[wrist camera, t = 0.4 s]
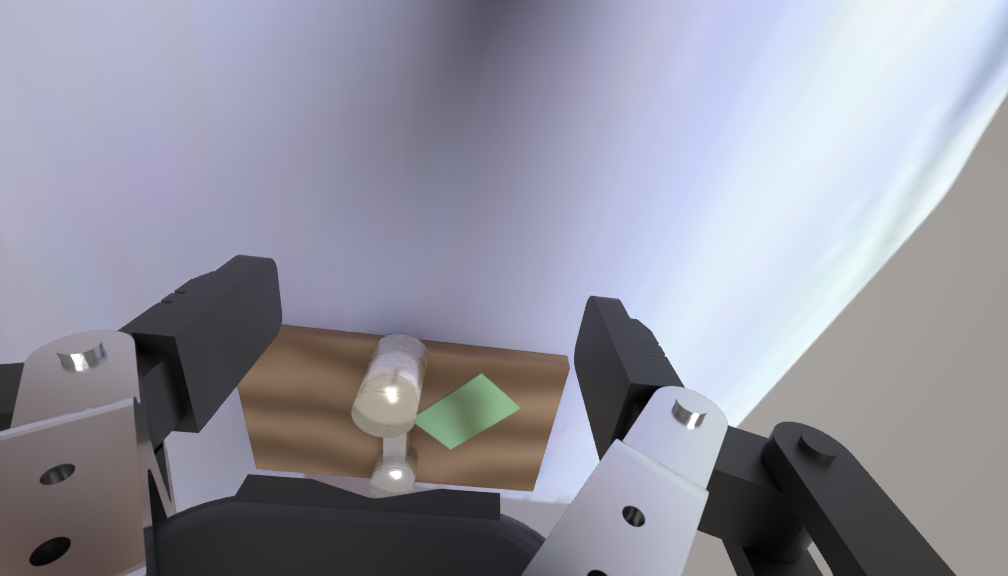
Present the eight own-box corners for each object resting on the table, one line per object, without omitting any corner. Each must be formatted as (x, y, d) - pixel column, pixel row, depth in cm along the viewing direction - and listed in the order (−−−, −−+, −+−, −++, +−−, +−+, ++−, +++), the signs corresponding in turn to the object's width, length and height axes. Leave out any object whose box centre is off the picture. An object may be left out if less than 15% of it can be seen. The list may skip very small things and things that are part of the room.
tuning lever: (374, 330, 31) (350, 390, 26) (430, 336, 32) (416, 396, 26) (375, 468, 39) (357, 535, 34) (419, 472, 40) (408, 538, 34)
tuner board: (235, 319, 33) (223, 332, 32) (567, 355, 35) (569, 369, 34) (264, 455, 41) (255, 470, 40) (531, 477, 43) (532, 493, 42)
